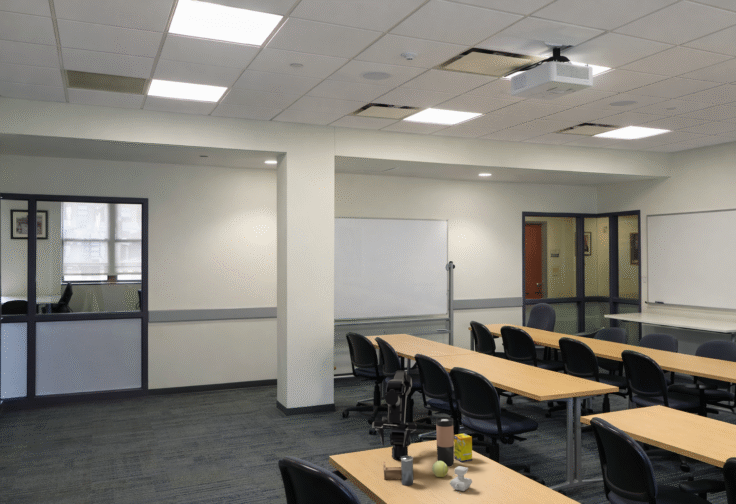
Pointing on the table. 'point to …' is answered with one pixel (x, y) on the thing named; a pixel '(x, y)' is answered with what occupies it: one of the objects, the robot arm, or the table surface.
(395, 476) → the holder
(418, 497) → the table surface
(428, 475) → the table surface
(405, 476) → the canister
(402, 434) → the robot arm
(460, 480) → the stamp
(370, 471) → the table surface
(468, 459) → the supplement box
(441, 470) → the tennis ball
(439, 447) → the travel mug
